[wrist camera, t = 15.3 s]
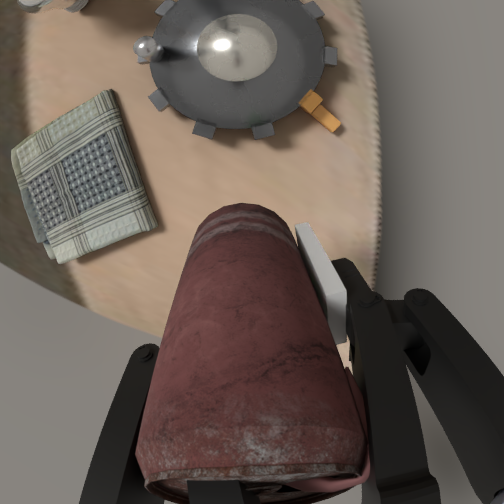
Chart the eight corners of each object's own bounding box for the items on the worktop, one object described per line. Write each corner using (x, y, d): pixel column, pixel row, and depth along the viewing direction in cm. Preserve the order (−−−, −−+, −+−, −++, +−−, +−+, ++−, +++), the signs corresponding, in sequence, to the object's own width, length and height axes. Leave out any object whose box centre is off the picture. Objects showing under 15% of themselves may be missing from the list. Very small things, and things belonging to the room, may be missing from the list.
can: (311, 263, 18) (394, 482, 5) (225, 302, 19) (219, 518, 7) (270, 179, 15) (373, 436, 3) (174, 230, 16) (81, 470, 4)
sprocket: (112, 42, 20) (92, 32, 16) (268, -44, 16) (272, -65, 12) (206, 175, 28) (199, 185, 24) (365, 87, 24) (386, 83, 20)
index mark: (309, 113, 26) (311, 113, 26) (317, 104, 26) (320, 104, 25) (330, 131, 27) (333, 132, 26) (338, 122, 27) (341, 123, 26)
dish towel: (116, 84, 24) (104, 82, 21) (161, 224, 32) (154, 235, 29) (14, 149, 26) (-1, 154, 23) (56, 260, 33) (45, 271, 31)
